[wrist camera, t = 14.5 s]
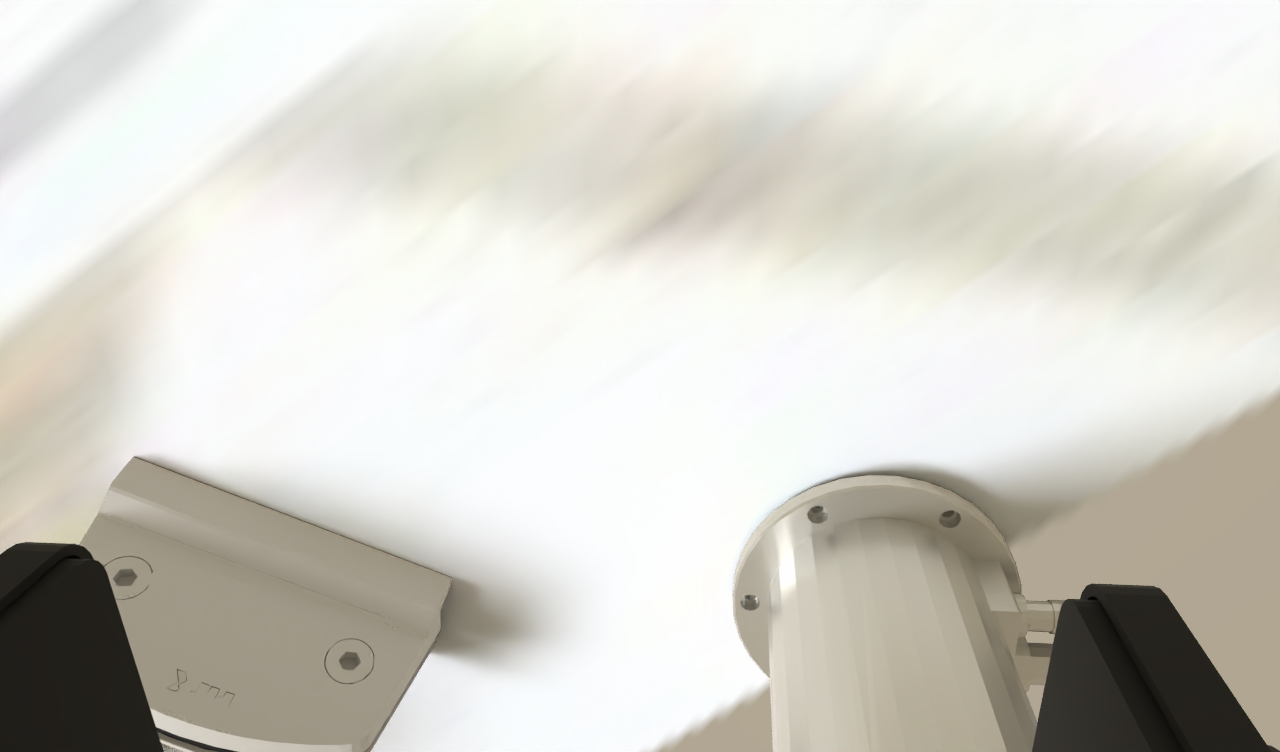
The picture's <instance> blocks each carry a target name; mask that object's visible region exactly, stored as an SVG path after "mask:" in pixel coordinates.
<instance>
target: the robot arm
mask: <svg viewBox="0 0 1280 752" xmlns="http://www.w3.org/2000/svg"><path fill="white" fill-rule="evenodd" d="M815 506H820V507H818V508H814V507H815ZM945 511H947V512H945ZM733 613H734V620H735V623H736V627H737V630H738V634H739V637H740V639H741V641H742V643H743V645H744V647H745V649H746V650H747V652H748V654H749V656H750V657H751V658H752V660H753V661H754V662H755V663H756V664H757V666H758V667H759V668H760V669H761V670H762V671H763V673H764V674H766V675H767V676H768V677H769V678H770V689H771V713H772V739H773V752H1280V751H1279V750H1277V749H1276V748H1274V747H1272V746H1269V745H1267V744H1266V743H1265V741H1264V740H1263V738H1262V737H1261V736H1260V734H1259V732H1258V731H1257V729H1256V728H1255V727H1254V725H1253V724H1252V722H1251V721H1250V719H1249V718H1248V716H1247V715H1246V713H1245V712H1244V710H1243V709H1242V707H1241V706H1240V704H1239V703H1238V701H1237V700H1236V698H1235V697H1234V695H1233V694H1232V692H1231V691H1230V689H1229V688H1228V686H1227V685H1226V683H1225V682H1224V680H1223V679H1222V677H1221V676H1220V674H1219V673H1218V671H1217V670H1216V668H1215V667H1214V665H1213V664H1212V662H1211V661H1210V659H1209V658H1208V656H1207V655H1206V654H1205V652H1204V650H1203V649H1202V647H1201V646H1200V645H1199V643H1198V641H1197V640H1196V639H1195V637H1194V636H1193V634H1192V633H1191V631H1190V630H1189V628H1188V627H1187V625H1186V624H1185V622H1184V621H1183V619H1182V618H1181V616H1180V615H1179V613H1178V612H1177V610H1176V609H1175V607H1174V606H1173V604H1172V603H1171V601H1170V600H1169V598H1168V597H1167V595H1166V594H1165V593H1164V592H1163V591H1162V590H1161V589H1160V588H1157V587H1154V586H1138V585H1136V586H1135V585H1112V584H1090V585H1088V586H1086V588H1085V589H1084V591H1083V592H1082V595H1081V598H1080V599H1067V600H1065V601H1061V600H1048V601H1046V602H1045V601H1026V600H1025V597H1024V596H1023V595H1022V594H1021V582H1020V578H1019V574H1018V570H1017V567H1016V563H1015V561H1014V558H1013V556H1012V554H1011V552H1010V550H1009V547H1008V545H1007V543H1006V541H1005V540H1004V538H1003V537H1002V535H1001V534H1000V532H999V531H998V530H997V528H996V527H995V525H994V524H993V522H992V521H991V520H990V519H988V518H987V517H986V516H985V515H984V514H983V513H982V512H981V511H980V510H979V509H978V508H977V507H976V506H974V505H973V504H972V503H970V502H968V501H967V500H965V499H963V498H962V497H960V496H958V495H957V494H955V493H954V492H952V491H950V490H947V489H944V488H942V487H939V486H937V485H934V484H931V483H929V482H926V481H921V480H916V479H911V478H906V477H901V476H883V475H866V476H859V477H851V478H844V479H839V480H836V481H832V482H829V483H826V484H822V485H819V486H816V487H813V488H811V489H809V490H807V491H805V492H803V493H801V494H799V495H797V496H795V497H793V498H791V499H789V500H788V501H787V502H785V503H784V504H783V505H781V506H780V507H779V508H777V509H776V510H775V511H773V512H772V513H771V514H769V515H768V516H767V518H766V519H765V520H764V521H763V522H762V523H761V524H760V525H759V526H758V528H757V529H756V530H755V531H754V532H753V533H752V535H751V537H750V538H749V540H748V542H747V543H746V545H745V547H744V549H743V550H742V552H741V555H740V558H739V561H738V564H737V567H736V570H735V573H734V585H733ZM1027 631H1038V632H1049V633H1050V634H1055V638H1054V642H1053V644H1044V643H1043V644H1041V643H1027V641H1026V638H1025V636H1026V633H1027ZM1030 685H1045V688H1044V693H1043V698H1042V703H1041V708H1040V713H1039V718H1038V723H1037V720H1036V717H1035V715H1034V712H1033V710H1032V707H1031V705H1030V702H1029V699H1028V697H1027V694H1026V692H1027V691H1028V690H1029V687H1030ZM0 752H164V751H163V748H162V745H161V741H160V738H159V735H158V732H157V729H156V726H155V723H154V719H153V716H152V713H151V710H150V707H149V704H148V700H147V697H146V694H145V691H144V688H143V685H142V682H141V678H140V675H139V672H138V669H137V666H136V663H135V659H134V656H133V653H132V650H131V647H130V644H129V641H128V637H127V634H126V631H125V628H124V625H123V622H122V618H121V615H120V612H119V609H118V606H117V603H116V600H115V596H114V593H113V590H112V587H111V584H110V581H109V577H108V574H107V572H106V570H105V568H104V566H103V565H102V564H101V563H100V562H99V561H96V560H94V559H93V557H92V555H91V553H90V552H89V551H88V550H87V549H86V548H85V547H84V546H80V545H76V544H59V543H33V542H25V543H19V544H16V545H14V546H12V547H10V548H9V549H7V550H6V551H4V552H3V553H2V554H1V555H0Z"/></svg>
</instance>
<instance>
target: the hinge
mask: <svg viewBox="0 0 1280 752" xmlns="http://www.w3.org/2000/svg"><path fill="white" fill-rule="evenodd" d="M79 545H80V546H84V547H85V548H86V549H87V550H88V551H89V552H90V553H91V555H92V557H93V559H94V560H96V561H99V562H100V563H101V564H102V565H103V566H104V568H105V570H106V572H107V574H108V577H109V581H110V584H111V587H112V590H113V593H114V596H115V600H116V603H117V606H118V609H119V612H120V615H121V618H122V622H123V625H124V628H125V631H126V634H127V637H128V641H129V644H130V647H131V650H132V653H133V656H134V659H135V663H136V666H137V669H138V672H139V675H140V678H141V682H142V685H143V688H144V691H145V694H146V697H147V700H148V704H149V707H150V710H151V713H152V716H153V719H154V723H155V726H156V729H157V732H158V735H159V738H160V741H161V743H162V744H165V745H168V746H170V747H173V748H175V749H178V750H180V751H183V752H371V750H372V748H373V747H374V745H375V743H376V742H377V740H378V738H379V737H380V735H381V733H382V732H383V730H384V728H385V727H386V725H387V723H388V722H389V720H390V718H391V717H392V715H393V713H394V712H395V710H396V708H397V707H398V705H399V703H400V702H401V700H402V698H403V697H404V695H405V693H406V692H407V690H408V688H409V687H410V685H411V683H412V682H413V680H414V678H415V677H416V675H417V673H418V672H419V670H420V668H421V667H422V665H423V663H424V662H425V660H426V658H427V657H428V655H429V653H430V652H431V650H432V648H433V647H434V645H435V643H436V641H434V640H435V638H436V637H437V635H438V633H439V632H440V630H441V615H440V610H441V608H442V605H443V603H444V601H445V599H446V596H447V594H448V592H449V589H450V587H451V583H452V578H451V577H448V576H445V575H443V574H440V573H438V572H435V571H432V570H430V569H427V568H424V567H422V566H419V565H417V564H414V563H411V562H409V561H406V560H403V559H401V558H398V557H395V556H393V555H390V554H388V553H385V552H382V551H380V550H377V549H374V548H372V547H369V546H367V545H364V544H361V543H359V542H356V541H353V540H351V539H348V538H346V537H343V536H340V535H338V534H335V533H332V532H330V531H327V530H324V529H322V528H319V527H317V526H314V525H311V524H309V523H306V522H303V521H301V520H298V519H296V518H293V517H290V516H288V515H285V514H282V513H280V512H277V511H275V510H272V509H269V508H267V507H264V506H261V505H259V504H256V503H253V502H251V501H248V500H246V499H243V498H240V497H238V496H235V495H232V494H230V493H227V492H225V491H222V490H219V489H217V488H214V487H211V486H209V485H206V484H204V483H201V482H198V481H196V480H193V479H190V478H188V477H185V476H182V475H180V474H177V473H175V472H172V471H169V470H167V469H164V468H161V467H159V466H156V465H154V464H151V463H148V462H146V461H143V460H140V459H138V458H135V457H133V458H132V459H131V460H130V461H129V463H128V464H127V465H126V466H125V467H124V469H123V470H122V471H121V472H120V473H119V475H118V476H117V477H116V478H115V479H114V481H113V482H112V484H111V486H110V488H109V490H108V492H107V494H106V497H105V499H104V501H103V504H102V506H101V508H100V511H99V513H98V514H97V516H96V518H95V520H94V521H93V523H92V524H91V526H90V528H89V529H88V531H87V533H86V534H85V536H84V537H83V539H82V541H81V542H80V544H79Z"/></svg>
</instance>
